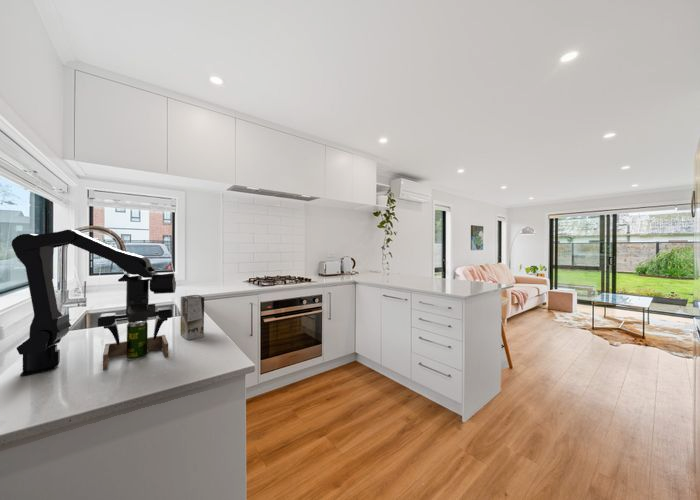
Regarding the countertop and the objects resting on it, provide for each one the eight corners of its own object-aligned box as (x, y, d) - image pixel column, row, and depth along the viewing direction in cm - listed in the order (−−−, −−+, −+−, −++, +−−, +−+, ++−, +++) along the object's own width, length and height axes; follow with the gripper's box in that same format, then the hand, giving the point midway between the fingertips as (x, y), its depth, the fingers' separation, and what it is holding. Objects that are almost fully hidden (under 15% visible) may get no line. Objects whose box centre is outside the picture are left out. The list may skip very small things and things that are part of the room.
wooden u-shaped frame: (102, 369, 79) (103, 355, 79) (105, 357, 87) (105, 344, 87) (168, 356, 89) (168, 343, 89) (164, 346, 98) (164, 334, 98)
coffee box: (204, 336, 109) (205, 297, 109) (186, 340, 105) (187, 299, 105) (196, 331, 116) (197, 294, 116) (179, 334, 111) (180, 296, 111)
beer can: (134, 354, 91) (135, 318, 90) (151, 354, 91) (151, 319, 91) (121, 361, 85) (122, 323, 85) (139, 361, 85) (139, 323, 85)
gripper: (96, 302, 76) (95, 357, 76) (174, 295, 88) (174, 343, 88) (99, 296, 84) (98, 345, 84) (170, 290, 96) (170, 334, 96)
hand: (137, 342), depth 88 cm, fingers open, 9 cm apart
